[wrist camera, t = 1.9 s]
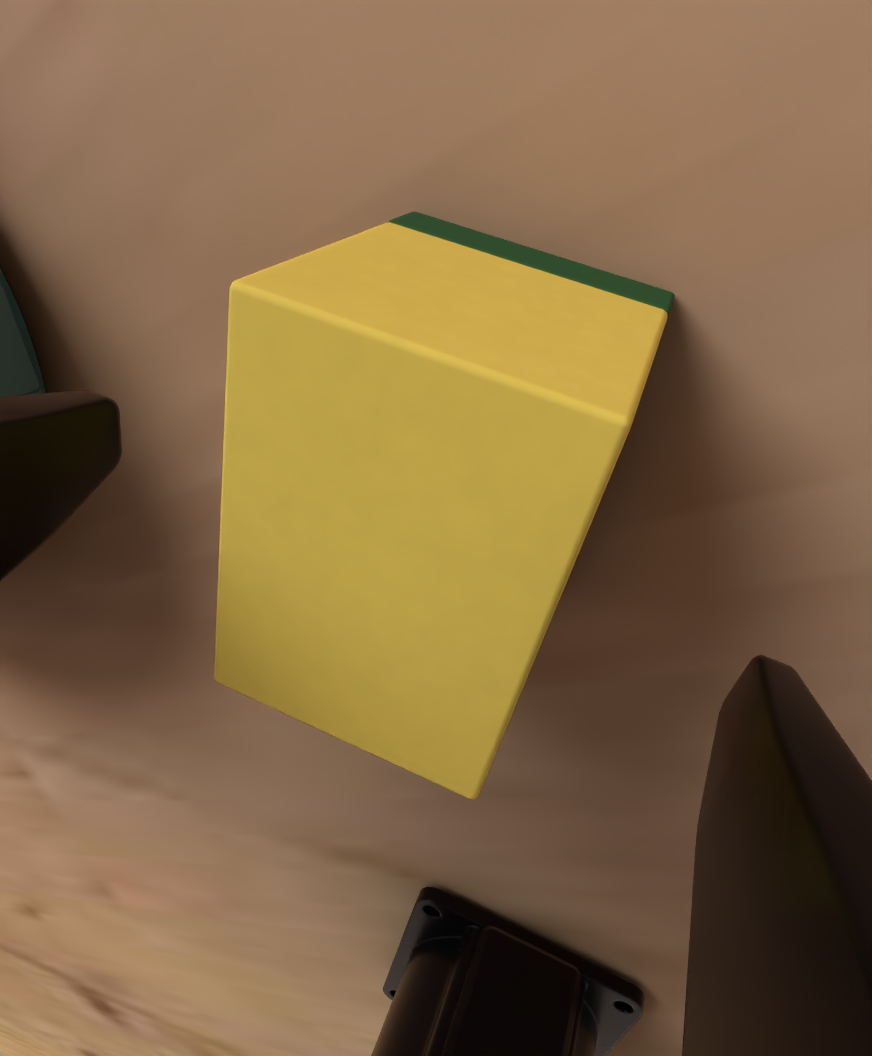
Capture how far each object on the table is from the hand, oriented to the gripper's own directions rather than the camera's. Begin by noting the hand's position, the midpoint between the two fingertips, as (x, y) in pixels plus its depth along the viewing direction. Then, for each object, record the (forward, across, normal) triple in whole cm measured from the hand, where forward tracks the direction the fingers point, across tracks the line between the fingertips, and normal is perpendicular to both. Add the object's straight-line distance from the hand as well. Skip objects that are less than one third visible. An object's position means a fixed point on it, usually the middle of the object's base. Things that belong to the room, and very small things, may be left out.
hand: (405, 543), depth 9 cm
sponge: (+4, 0, 0) cm, 4 cm away
